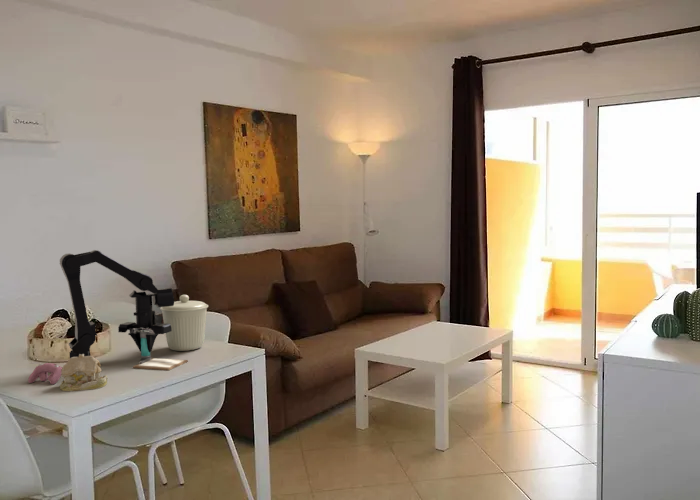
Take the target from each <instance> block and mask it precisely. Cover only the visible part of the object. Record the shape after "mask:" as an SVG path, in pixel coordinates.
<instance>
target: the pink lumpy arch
mask: <svg viewBox="0 0 700 500" xmlns="http://www.w3.org/2000/svg"><path fill="white" fill-rule="evenodd" d="M62 367H63V366H61V365H59V364H57V363H51V362H45V363H39V364H38V365H37V366H36V367H34V370H33V371H32V372H31V374H30V375H29V376H28V379H27V381H28V384H33V383H34V382H35V381H36V380H38V379H39V380H40V381H42V382H46V381H47V380H48V381H49V382H50V385H51V386H53V385H55V384H57V383H58V381H60V378H61V377H62V376H61V371H62ZM48 373H49V375H48Z"/></svg>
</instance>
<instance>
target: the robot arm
mask: <svg viewBox="0 0 700 500" xmlns="http://www.w3.org/2000/svg"><path fill="white" fill-rule="evenodd" d="M95 263H97V264H98V265H100V266H102V267H103V268H106V269H108V270H109V271H111V272H114V273H115V274H116V275H119V276H120V277H122V278H124V279H125V280H126V281H127V282H128V283H130V284H131V285H132V286H134V288H135V289H138V290H140V291H137V290H132V292H131V293H130V294H129V295H128V296H129V297H130V298H132V299H133V298H134V299H135V312H133V316H135V322H134V321H127V322H124V323H123V322H122V323H120V324H119V325H118V328H117V331H118V333H127V331H129V333H128V336H130V337H131V339H132V340H133V341H134V343H135V345H136V347H137V348H138V350H139V352H140V353H141V338H140V332H144V331H149V334H146V340H147V347H148V351H149V352H150V353H152V350H153V348H154V344H155V341H156V339H157V336H158V335H164V334H165V333H168V332H171V331H172V327H171V325H170V324H164V322H163V315H162V316H161V315H160V314H159V315H158V314H156V311H155V310H154V309H153V306H156V308H161V307H169V306H173V305H174V302H175V297H174V294H173V289H172V288H171V287H166V288H159V289H158V288H157V287H156V286H155V285H154V282H153V281H154V280H153V278H152V276H150V275H148V274H144V273H142V272H139V271H136V270H134V269H130V268H129V267H128V266H125V265H124V264H122V263H120V262H118V261H117V260H115V259H113V258H111V257H109V256H108V255H106V254H104V253H102V252H101V250H100V251H99V250H98V249H97V250H96V249H93V250H91V251H88V252H87V251H86V252H82V253H77V254H73V253H65V254H63V255H62V256H61V257H60V259H59V265H60V267H61V270H62V272H63V275H64V277H65V279H66V281H67V285H68V291H69V294H70V295H69V296H70V299H71V303H72V304H71V305H72V311H73V315H74V318H75V323H74V325H75V326H74V338H72V340H70V342H68V346H69V348H70V349H71V350H70V352H69V359H70V358H71V357H79V354H84V357H85V356H91V352H90V351H91V350H90V348H91V346H92V345H94V344H95V342H96V336H98V334H97V333H96V324H95V322H93V321H89V318H88V313H87V309H86V308H87V307H86V303H85V299H84V294H83V293H84V292H83V290H82V289H83V288H82V284H81V267H82V266H83V267H84V266H86V265H87V266H88V265H91V264H95ZM147 292H149V293H147ZM165 335H166V334H165Z"/></svg>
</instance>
